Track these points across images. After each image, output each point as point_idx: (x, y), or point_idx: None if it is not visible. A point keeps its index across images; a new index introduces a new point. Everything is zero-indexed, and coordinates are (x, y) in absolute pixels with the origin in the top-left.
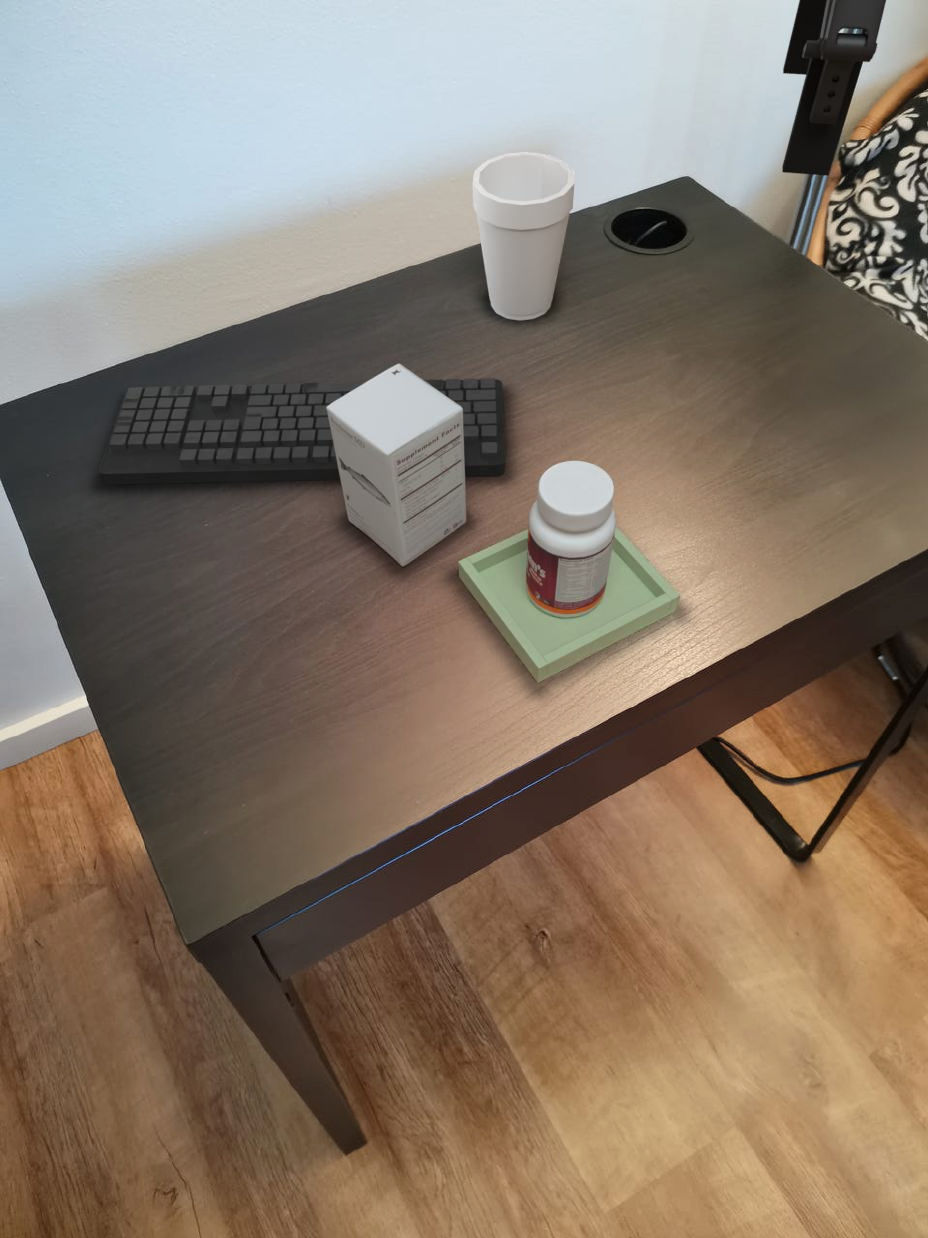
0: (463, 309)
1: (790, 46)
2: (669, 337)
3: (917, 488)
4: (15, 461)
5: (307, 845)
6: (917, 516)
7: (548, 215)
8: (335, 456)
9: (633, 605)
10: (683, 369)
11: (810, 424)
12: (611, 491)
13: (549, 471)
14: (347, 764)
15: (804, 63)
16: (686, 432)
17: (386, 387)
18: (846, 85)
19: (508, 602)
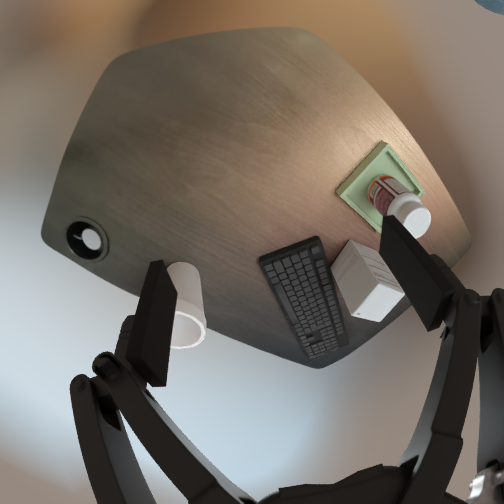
0: (202, 294)
1: (174, 312)
2: (172, 195)
3: (256, 28)
4: (340, 358)
5: (460, 231)
6: (281, 27)
7: (191, 308)
8: (333, 297)
9: (385, 160)
10: (198, 178)
11: (220, 93)
12: (420, 209)
13: None
14: (443, 232)
15: (169, 286)
16: (256, 160)
17: (368, 312)
18: (457, 279)
19: None
